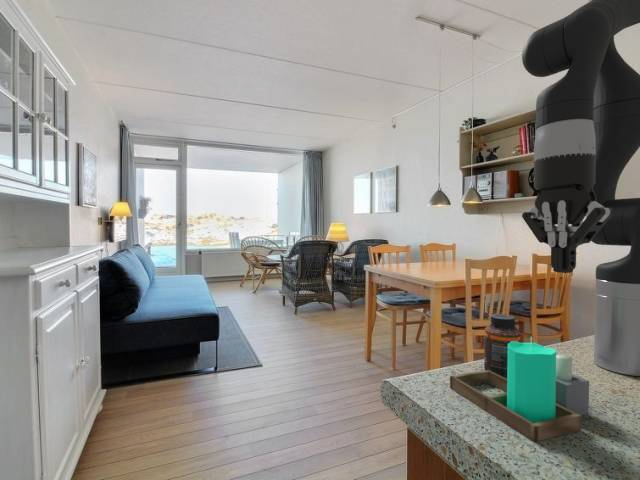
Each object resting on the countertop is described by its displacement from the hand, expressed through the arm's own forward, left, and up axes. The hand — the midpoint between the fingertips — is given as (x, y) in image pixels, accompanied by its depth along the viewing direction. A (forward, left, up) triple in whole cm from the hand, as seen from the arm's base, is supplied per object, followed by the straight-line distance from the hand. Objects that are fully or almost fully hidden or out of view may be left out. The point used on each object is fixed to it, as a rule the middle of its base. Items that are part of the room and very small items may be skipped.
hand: (562, 272), depth 52 cm
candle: (+7, +1, -21) cm, 22 cm away
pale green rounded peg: (0, 0, -19) cm, 19 cm away
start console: (0, 0, -21) cm, 21 cm away
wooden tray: (+7, -3, -21) cm, 22 cm away
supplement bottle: (-1, -12, -21) cm, 24 cm away
